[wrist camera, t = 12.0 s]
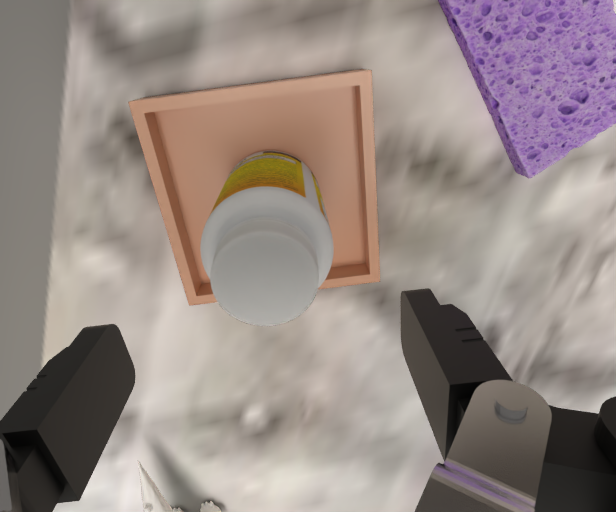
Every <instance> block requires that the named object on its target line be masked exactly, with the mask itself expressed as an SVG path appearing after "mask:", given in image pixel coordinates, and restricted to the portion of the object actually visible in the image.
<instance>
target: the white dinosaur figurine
mask: <svg viewBox="0 0 616 512" xmlns="http://www.w3.org/2000/svg"><path fill="white" fill-rule="evenodd" d="M138 465H139V473H140V480H141V492H142V500H143V508H144V512H184V511H182V510H181V509H180V507H178V509H176V508H174V509H172V508H171V506H170V505H169V504H168V503H167V501H166V500H165V499H164V497H163V496H162V494H161V493H160V491H159V490H158V488H157V486H156V485H155V483H154V482H153V481H152V479H151V478H150V477H149V475H148V474H147V472H146V471H145V470H144V468H143V467H142V465H141V464H140V462H139V461H138ZM200 512H222V511H221V510H220V508H219V507H218V506H216V505H214V504H213V502H212V501H210V503H208V502H205V504H204V503H202V504H201V510H200Z"/></svg>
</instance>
